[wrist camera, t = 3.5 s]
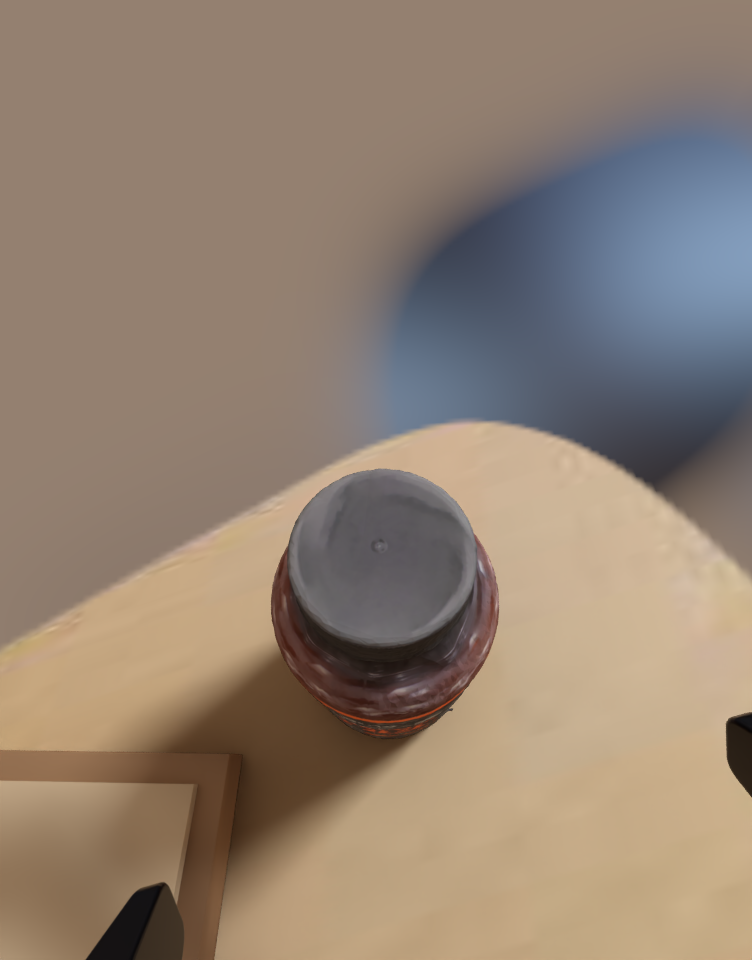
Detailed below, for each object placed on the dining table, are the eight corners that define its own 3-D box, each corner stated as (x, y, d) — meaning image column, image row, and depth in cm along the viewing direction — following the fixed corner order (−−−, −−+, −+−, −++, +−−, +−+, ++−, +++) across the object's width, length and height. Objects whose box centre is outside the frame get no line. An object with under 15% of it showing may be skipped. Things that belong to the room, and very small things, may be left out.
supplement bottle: (313, 743, 18) (208, 711, 8) (319, 590, 21) (248, 436, 11) (472, 738, 18) (556, 699, 8) (454, 584, 21) (499, 423, 11)
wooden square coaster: (189, 1132, 13) (157, 1188, 11) (-121, 1115, 13) (-197, 1166, 12) (242, 754, 18) (225, 753, 16) (11, 751, 18) (-30, 749, 16)
